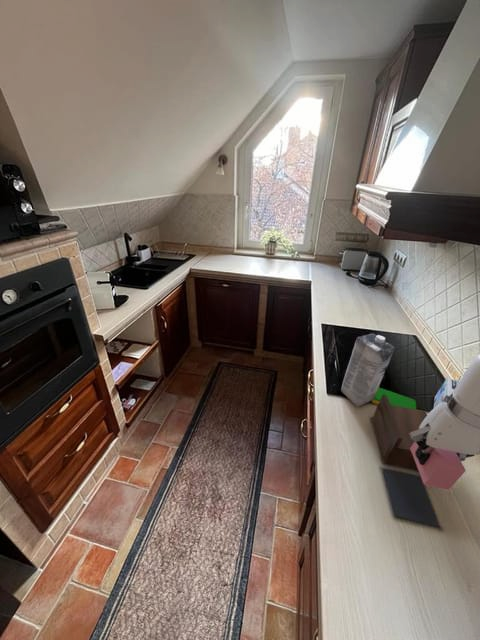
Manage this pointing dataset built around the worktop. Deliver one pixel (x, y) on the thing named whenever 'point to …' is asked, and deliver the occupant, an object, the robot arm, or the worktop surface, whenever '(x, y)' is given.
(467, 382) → the robot arm
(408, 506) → the slate mat
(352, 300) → the worktop surface
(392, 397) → the dish sponge
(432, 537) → the worktop surface
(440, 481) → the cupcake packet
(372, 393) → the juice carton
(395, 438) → the walnut shelf
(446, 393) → the light bulb box
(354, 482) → the worktop surface
